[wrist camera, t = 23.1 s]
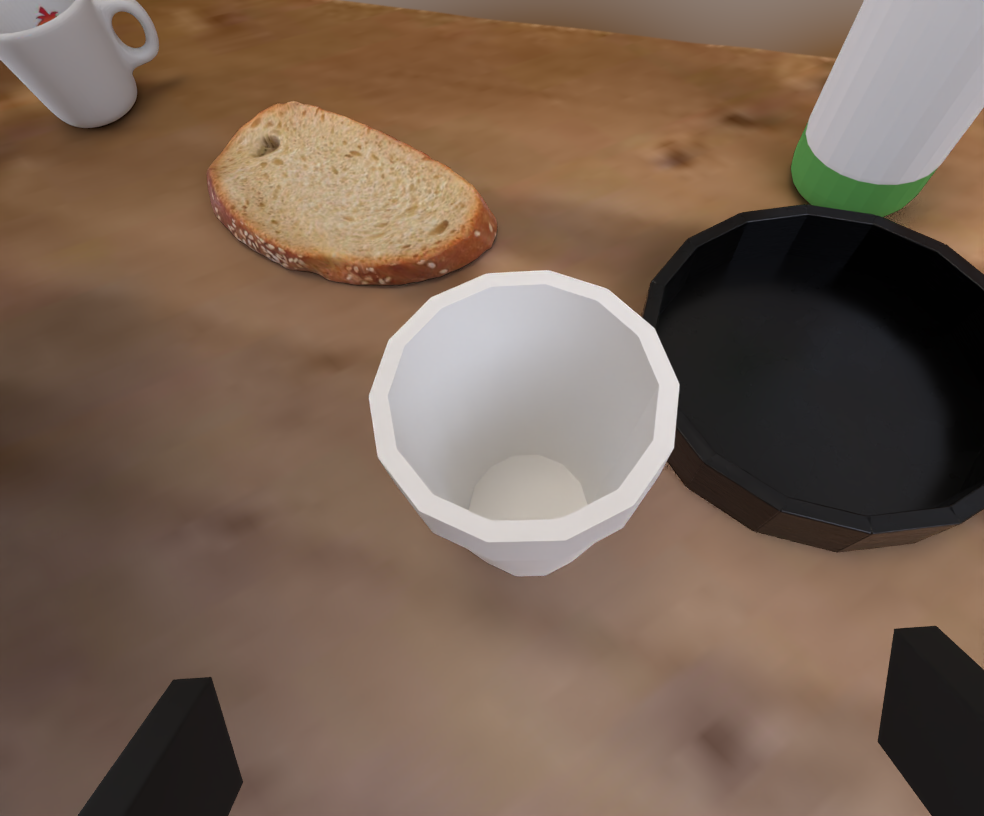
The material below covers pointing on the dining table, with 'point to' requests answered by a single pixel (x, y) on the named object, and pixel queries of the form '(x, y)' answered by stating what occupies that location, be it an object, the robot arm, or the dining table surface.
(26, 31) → the cup
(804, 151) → the wine bottle
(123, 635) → the dining table surface
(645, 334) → the foam cup
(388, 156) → the bread slice
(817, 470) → the pan
